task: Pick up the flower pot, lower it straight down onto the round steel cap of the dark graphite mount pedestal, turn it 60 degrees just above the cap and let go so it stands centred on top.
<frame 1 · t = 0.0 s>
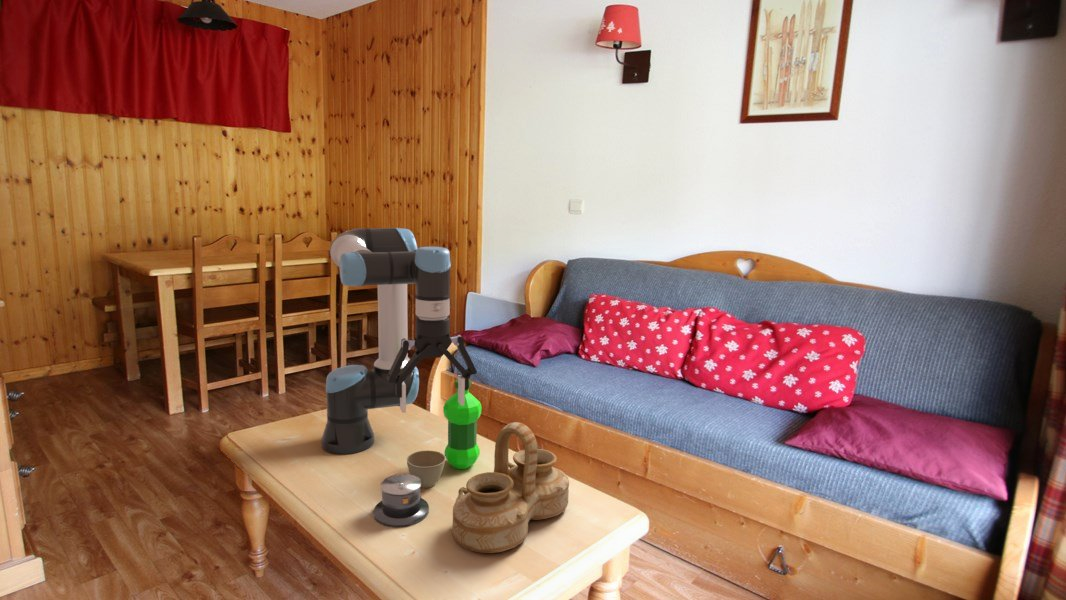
hand: (432, 407, 141), 28 cm above the table, tool pointing down, fingers open, 13 cm apart
flower pot: (426, 484, 163), on the table
plastic bottle: (462, 465, 174), on the table
ceramic vessel: (511, 520, 147), on the table
mount pedestal: (401, 512, 148), on the table
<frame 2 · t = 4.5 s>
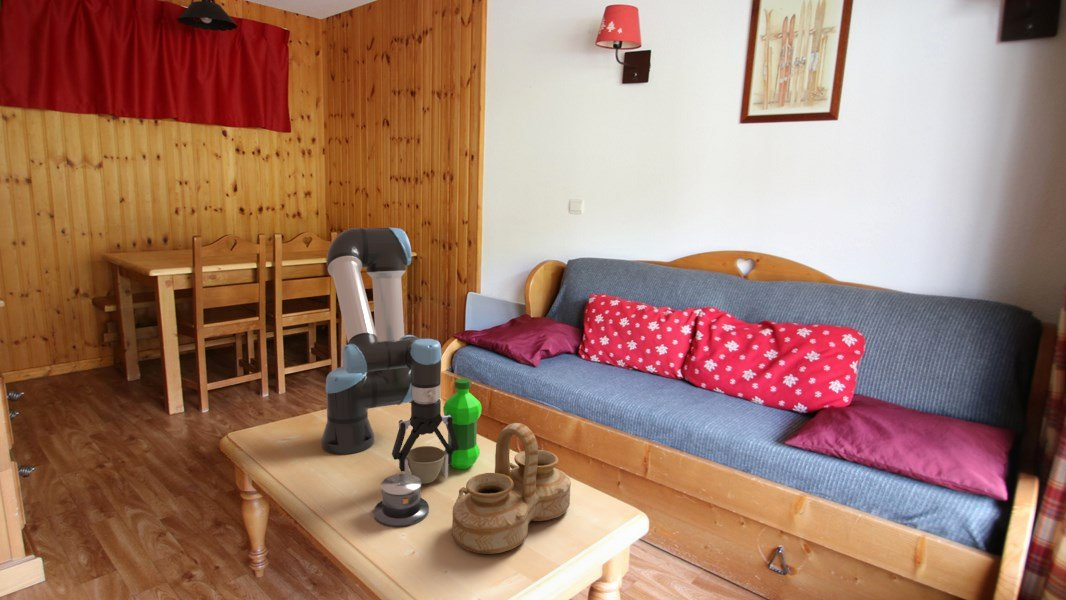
hand: (425, 478, 163), 1 cm above the table, tool pointing down, fingers closed on flower pot, 10 cm apart
flower pot: (425, 479, 163), point 1 cm above the table, touching gripper
everything else where it was.
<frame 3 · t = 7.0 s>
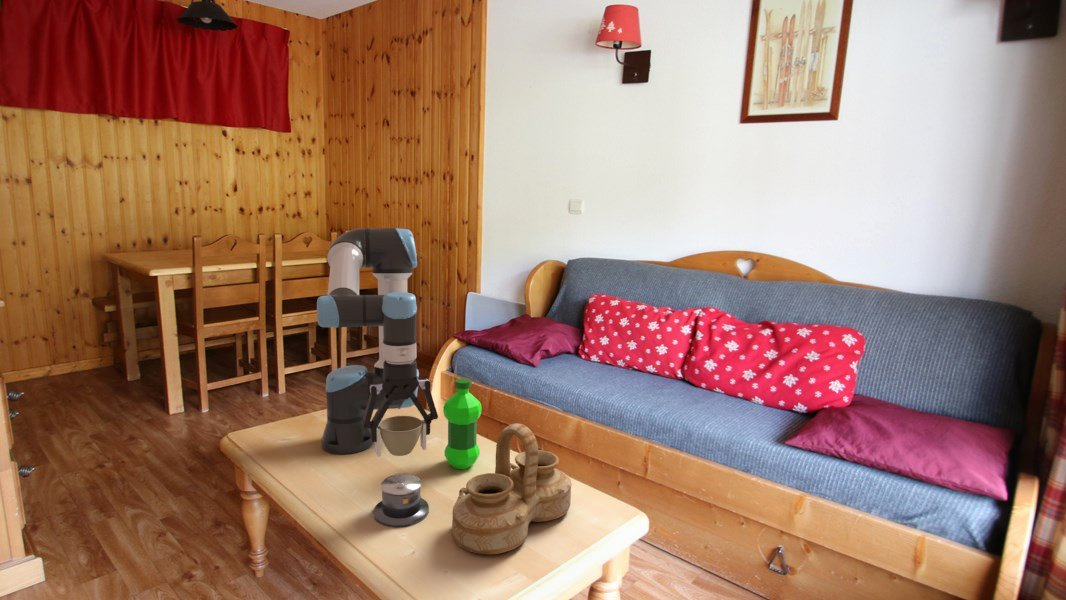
hand: (401, 450, 145), 16 cm above the table, tool pointing down, fingers closed on flower pot, 10 cm apart
flower pot: (400, 452, 145), point 16 cm above the table, touching gripper
everything else where it was.
when the fingers open (8 cm above the table, at t = 9.6 s): flower pot stays where it is, resting on mount pedestal.
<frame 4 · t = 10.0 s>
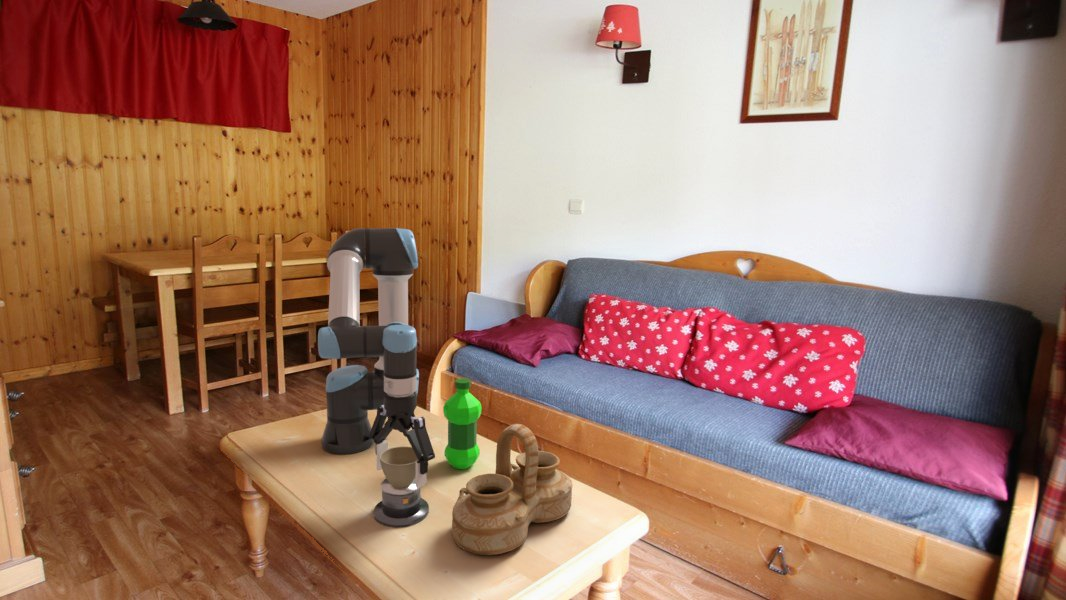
hand: (401, 476, 147), 9 cm above the table, tool pointing down, fingers open, 13 cm apart
flower pot: (401, 483, 147), point 7 cm above the table, touching mount pedestal
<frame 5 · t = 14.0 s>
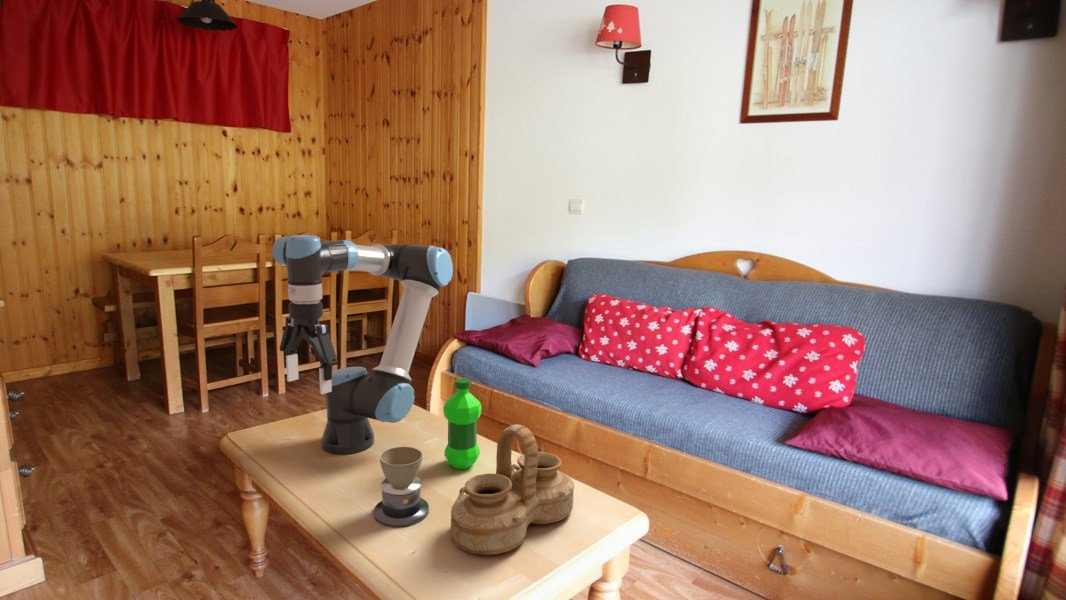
hand: (309, 386, 150), 29 cm above the table, tool pointing down, fingers open, 13 cm apart
at the end: flower pot 0.1 cm off-centre on the mount pedestal, point 7.4 cm above the mount pedestal's base; flower pot tilted 0°; the gripper is holding nothing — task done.
